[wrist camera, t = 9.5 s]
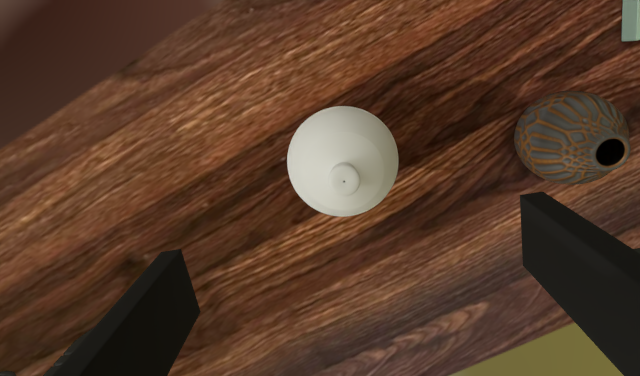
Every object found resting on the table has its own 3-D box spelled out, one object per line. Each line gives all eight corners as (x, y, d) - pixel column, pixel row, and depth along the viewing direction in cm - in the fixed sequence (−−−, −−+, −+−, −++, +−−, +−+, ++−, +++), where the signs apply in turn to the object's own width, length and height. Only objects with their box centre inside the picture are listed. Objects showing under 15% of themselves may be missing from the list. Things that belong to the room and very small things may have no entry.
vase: (598, 145, 35) (682, 173, 26) (520, 183, 36) (577, 221, 28) (570, 71, 33) (650, 76, 25) (489, 114, 34) (539, 132, 26)
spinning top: (315, 196, 37) (307, 258, 25) (282, 116, 35) (257, 144, 23) (397, 167, 36) (426, 217, 24) (368, 82, 34) (386, 95, 22)
